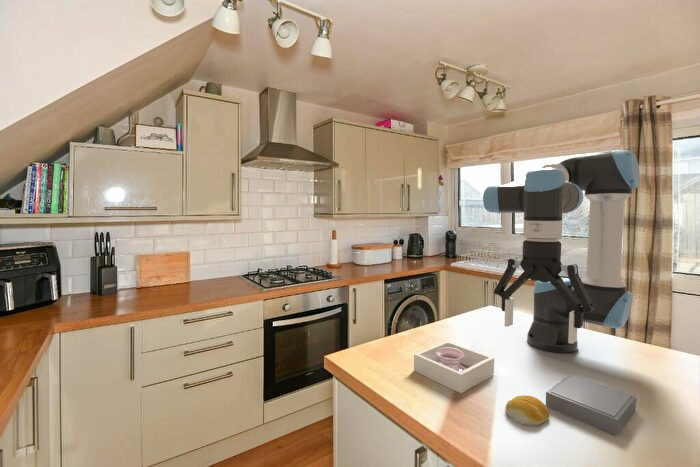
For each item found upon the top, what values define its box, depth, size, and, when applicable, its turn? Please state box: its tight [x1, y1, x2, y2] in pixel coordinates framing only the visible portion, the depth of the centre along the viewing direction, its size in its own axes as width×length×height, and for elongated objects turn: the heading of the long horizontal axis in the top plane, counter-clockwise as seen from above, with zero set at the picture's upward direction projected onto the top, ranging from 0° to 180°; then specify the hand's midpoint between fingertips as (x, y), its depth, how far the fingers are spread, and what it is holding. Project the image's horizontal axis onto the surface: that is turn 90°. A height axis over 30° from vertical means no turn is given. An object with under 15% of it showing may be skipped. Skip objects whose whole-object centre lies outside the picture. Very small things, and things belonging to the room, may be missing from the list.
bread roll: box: [504, 394, 550, 427], centre depth 79 cm, size 8×9×4 cm
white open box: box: [413, 340, 495, 394], centre depth 99 cm, size 16×16×5 cm
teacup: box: [436, 347, 467, 371], centre depth 99 cm, size 12×12×6 cm
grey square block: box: [545, 374, 637, 437], centre depth 81 cm, size 14×14×4 cm
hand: (538, 333), depth 77 cm, fingers open, 13 cm apart
